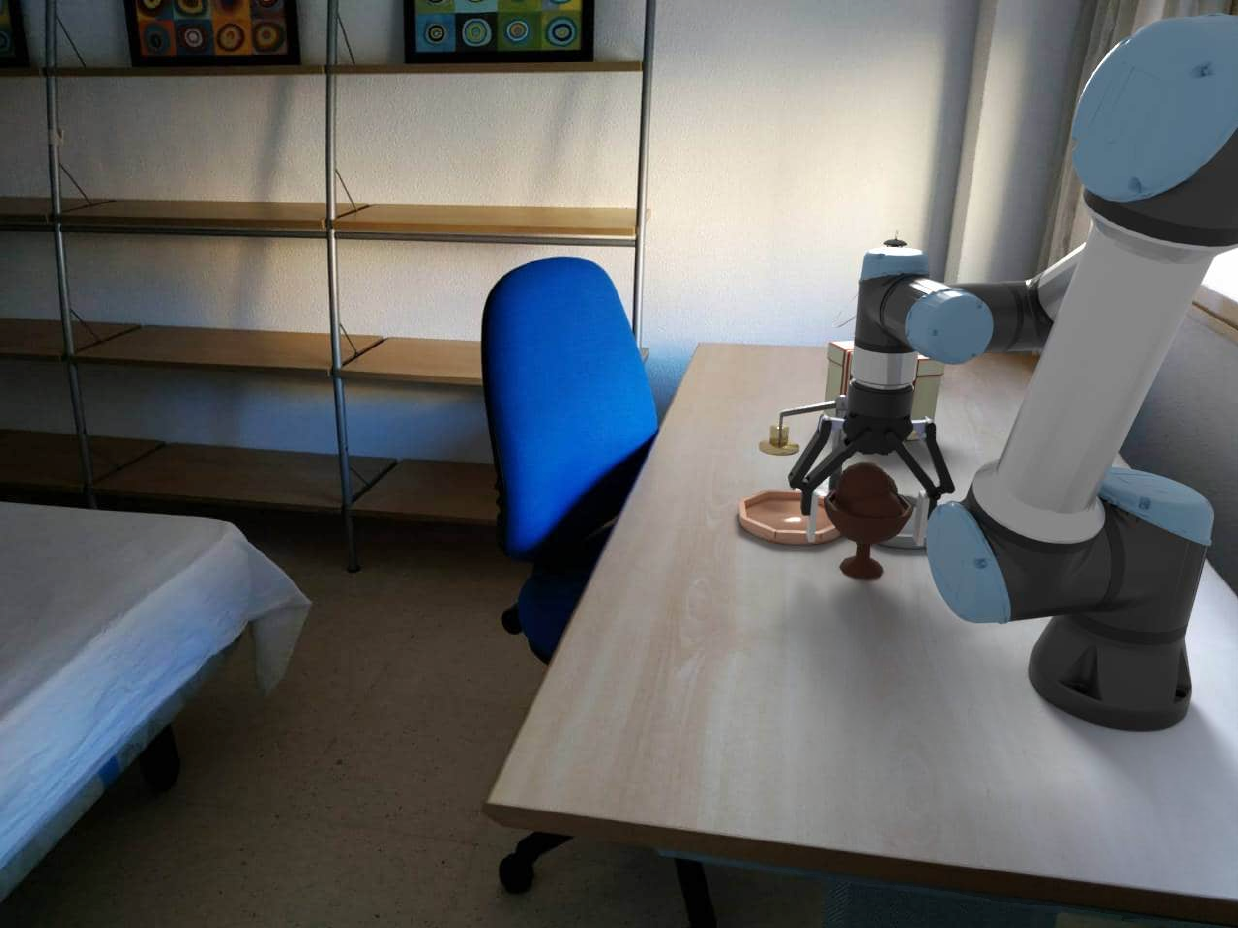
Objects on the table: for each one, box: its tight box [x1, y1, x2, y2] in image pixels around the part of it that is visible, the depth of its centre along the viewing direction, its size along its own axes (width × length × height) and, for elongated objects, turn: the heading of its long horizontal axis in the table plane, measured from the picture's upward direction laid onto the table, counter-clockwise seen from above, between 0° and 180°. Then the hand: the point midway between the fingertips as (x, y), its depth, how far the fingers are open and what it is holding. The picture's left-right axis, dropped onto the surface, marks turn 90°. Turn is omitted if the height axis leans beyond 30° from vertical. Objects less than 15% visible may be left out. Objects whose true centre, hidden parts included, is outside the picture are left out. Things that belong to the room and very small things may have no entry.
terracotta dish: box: [737, 488, 843, 546], centre depth 139 cm, size 15×15×2 cm
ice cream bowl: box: [824, 461, 915, 580], centre depth 124 cm, size 11×11×15 cm
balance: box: [758, 395, 917, 497], centre depth 147 cm, size 8×24×17 cm, turn 86°
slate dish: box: [876, 492, 942, 550], centre depth 139 cm, size 15×15×2 cm
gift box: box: [822, 332, 946, 442], centre depth 176 cm, size 17×18×17 cm
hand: (863, 539), depth 125 cm, fingers open, 13 cm apart
